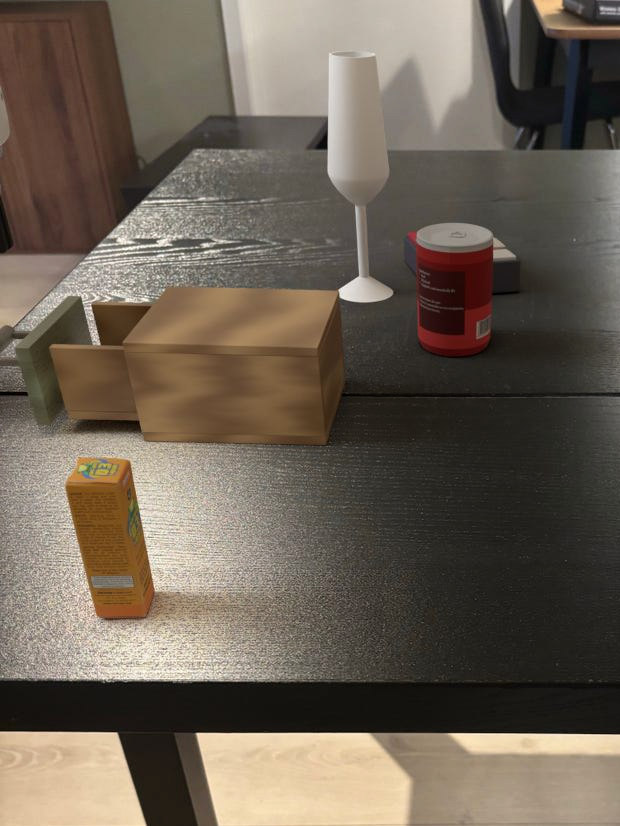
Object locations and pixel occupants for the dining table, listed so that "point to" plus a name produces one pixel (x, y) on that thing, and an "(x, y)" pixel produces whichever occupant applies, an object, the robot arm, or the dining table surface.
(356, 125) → the champagne flute
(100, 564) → the supplement box
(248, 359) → the cabinet
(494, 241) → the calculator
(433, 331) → the canned food
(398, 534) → the dining table surface
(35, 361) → the drawer
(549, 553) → the dining table surface
